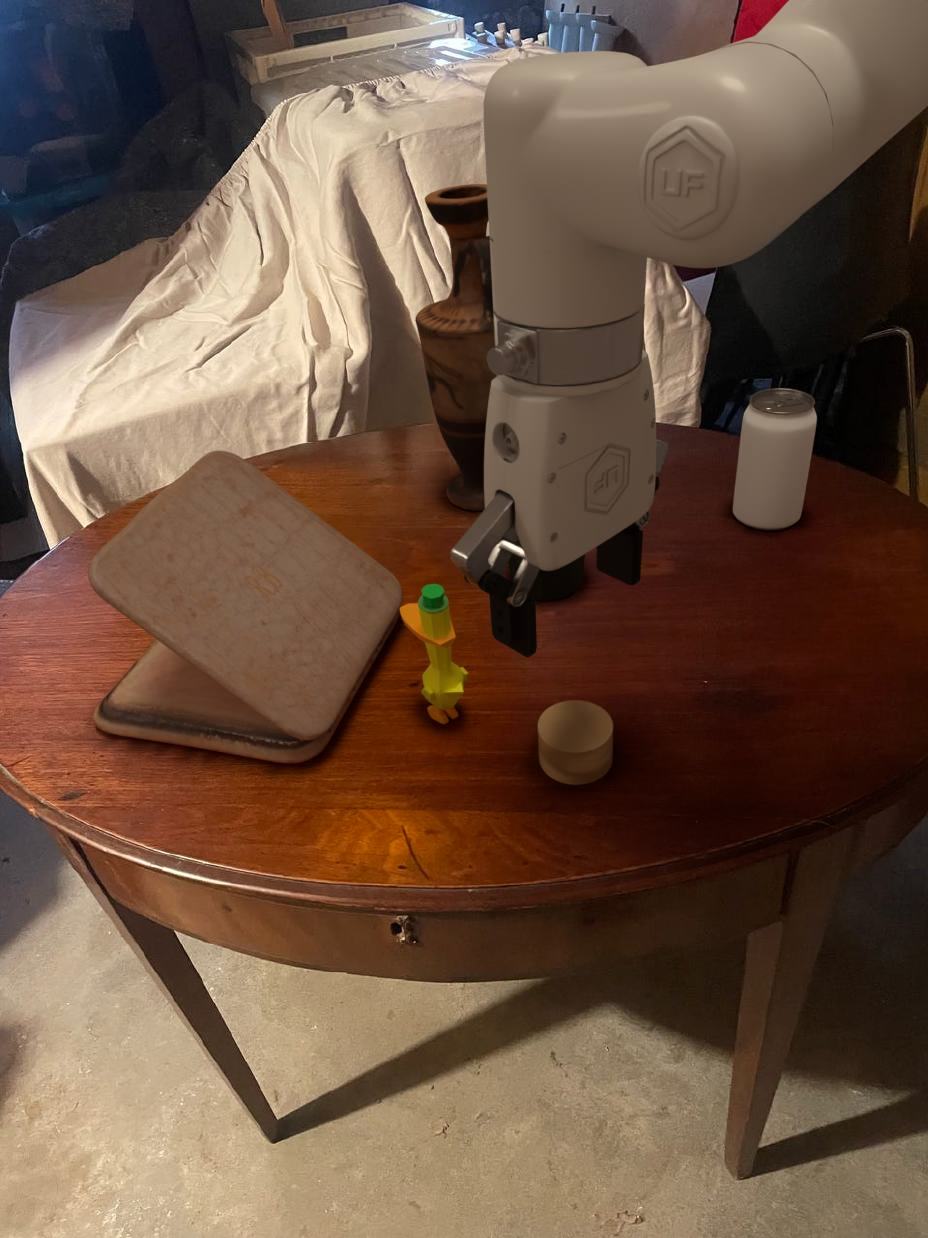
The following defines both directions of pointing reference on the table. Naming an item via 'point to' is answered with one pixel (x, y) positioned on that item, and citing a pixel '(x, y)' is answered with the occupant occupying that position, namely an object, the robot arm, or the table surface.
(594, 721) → the cylinder
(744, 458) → the can
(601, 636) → the table surface
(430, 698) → the toy figure
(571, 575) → the potion bottle
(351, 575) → the case
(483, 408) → the vase
